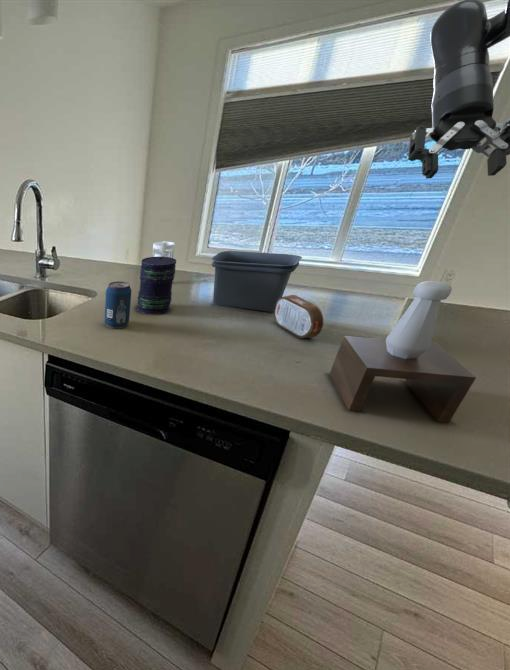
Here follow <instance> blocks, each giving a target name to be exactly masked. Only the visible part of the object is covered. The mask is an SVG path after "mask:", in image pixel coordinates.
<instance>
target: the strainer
mask: <svg viewBox="0 0 510 670" xmlns="http://www.w3.org/2000/svg"><path fill="white" fill-rule="evenodd" d="M175 247H176V243H175V242H173V241H167V240H162V241H157V242H153V245H152V253H151V257H170V258H174V255H175Z"/></svg>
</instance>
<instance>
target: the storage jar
mask: <svg viewBox="0 0 510 670" xmlns="http://www.w3.org/2000/svg"><path fill="white" fill-rule="evenodd" d="M140 264H141V265H140V269H139V270H140V271H139V274H140V275H139V281H140V283H139V290H138V295H137V306H136V310H137V311H138V312H140V313H142V314H147V315H163V314H166V313H168V312H170V309H171V307H170V306H171V303H172V299H173V298H172V295H173V291H172V290H173V282H174V280H175V275H176V267H177V266H176V264H177V259H176V258H174V257H173V258H170V257H167V256H166V257H152V256H149V257H148V256H147V257H144V258H142V259H141V263H140Z"/></svg>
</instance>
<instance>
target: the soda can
mask: <svg viewBox="0 0 510 670" xmlns="http://www.w3.org/2000/svg"><path fill="white" fill-rule="evenodd" d="M104 302H105V303H104V320H103V321H104V323H105V325H106V326H107V327H108V328H111V329H123V328H125V327H126V326H127V325H128V324H129V322H130V315H131V302H132V289H131V284H130V282H127V281H111V282H109V283H108V286H107V288H106V289H105V301H104Z"/></svg>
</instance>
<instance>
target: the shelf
mask: <svg viewBox="0 0 510 670" xmlns="http://www.w3.org/2000/svg"><path fill="white" fill-rule="evenodd" d="M329 377H330V378H331V380H332V382H333V384H334V386H335V388H336V389H337V392H338V394H339V395H340V397H341V399H342V400H343V402H344V404H345V406H346V407H347V409H348V411H352V412H360V411H361V409H362V407H363V405H364V403H365V400H366V398H367V396H368V393H369V391H370V389H371V386H372V385H373V382H374V380H375V378H376V377H380V378H391V379H400V380H404V383H405V384H406V385H407V387H408V388H409V389H410V390H411V392H412V393H413V394H414V395H415V396H416V397H417V398H418V400H419V401H420V402H421V403H422V404H423V406H424V407H425V408H426V409H427V411H428V412H429V413H430V415H432V417H433V418H434V419H435V420H436V421H437V422H441V423H450V422H451V421H452V419H453V417H454V415H455V414H456V412H457V410H458V409H459V407H460V405H461V404H462V402H463V400H464V399H465V397H466V395H467V393H468V392H469V390H470V388H471V387H472V386H473V384H474V382H475V380H476V379H477V377H476V375H474V374H473V373H472V372H470V371H469V370H468V369H467V368H466V367H465V366H464V365H463V364H462V363H461V362H459V361H458V360H457V359H456V358H455V357H453V356H452V355H451V354H450V353H449V352H448V351H446V350H445V349H444V347H442V346H441V345H440V344H439V343H437V342H436V341H432V343H431V346H430V347H429V348H428V350H426V351H425V352H424V353H423V354H421V355H420V356H419V357H418V358H410V359H405V358H401V357H397V356H393V355H391V354H390V353H389V352H388V351H387V346H386V338H381V337H367V336H353V335H344V336H343V337H342V340H341V343H340V345H339V349H338V351H337V353H336V355H335V359H334V360H333V364H332V366H331V369H330V370H329Z"/></svg>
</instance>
